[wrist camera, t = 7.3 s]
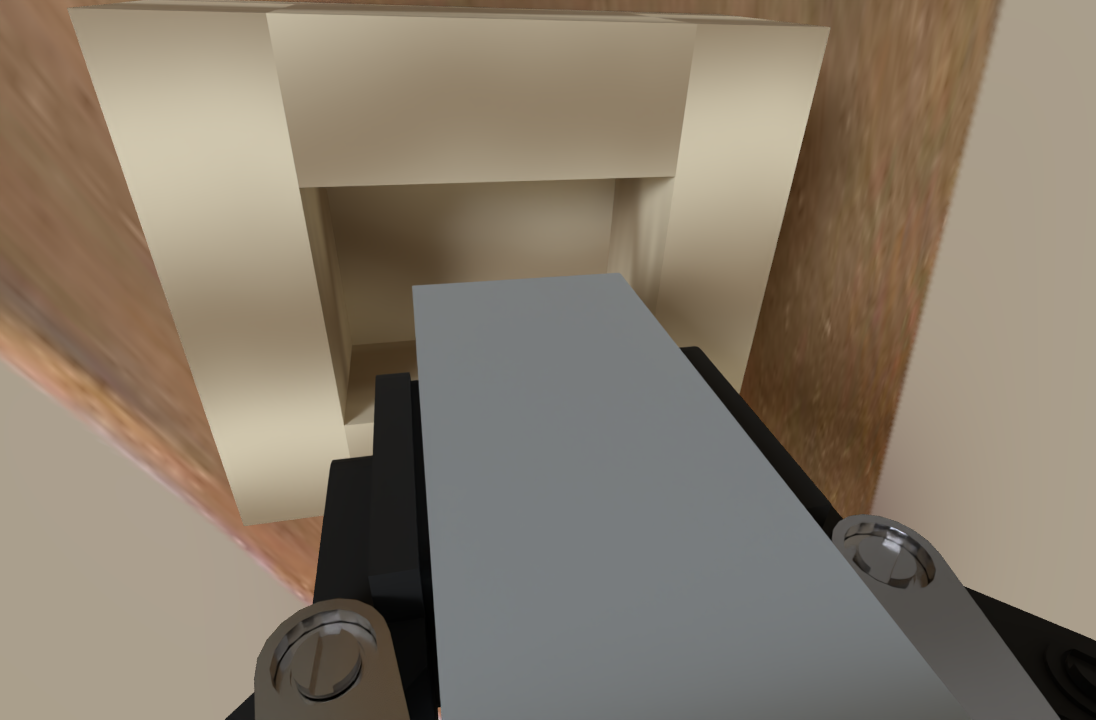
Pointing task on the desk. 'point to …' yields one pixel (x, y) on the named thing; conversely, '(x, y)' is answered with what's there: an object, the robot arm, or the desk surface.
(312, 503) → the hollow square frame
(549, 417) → the grey rectangular prism
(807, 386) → the desk surface
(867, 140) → the desk surface
